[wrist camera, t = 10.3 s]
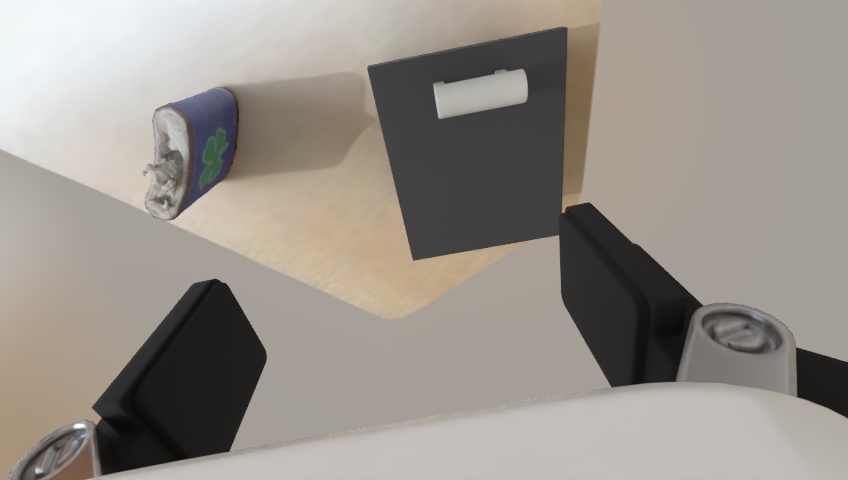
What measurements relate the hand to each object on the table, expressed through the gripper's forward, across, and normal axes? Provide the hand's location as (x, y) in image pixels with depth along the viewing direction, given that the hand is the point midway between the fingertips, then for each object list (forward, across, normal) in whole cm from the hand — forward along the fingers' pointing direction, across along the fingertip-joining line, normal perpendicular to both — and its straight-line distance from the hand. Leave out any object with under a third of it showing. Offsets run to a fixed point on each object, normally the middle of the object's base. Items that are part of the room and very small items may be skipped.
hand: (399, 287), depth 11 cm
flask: (+27, +17, -1) cm, 32 cm away
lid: (+19, -5, +3) cm, 20 cm away
